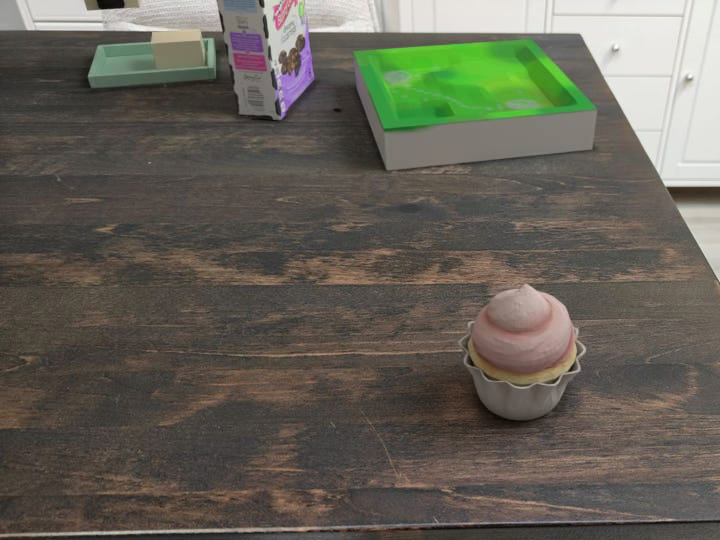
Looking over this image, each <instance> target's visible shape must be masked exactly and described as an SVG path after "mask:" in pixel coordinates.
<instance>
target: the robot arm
mask: <svg viewBox="0 0 720 540" xmlns="http://www.w3.org/2000/svg"><path fill="white" fill-rule="evenodd" d="M96 1H97V4H98V7H99V8H100V9H106V10H119V8H122V9H125V8H124V6H125V3H124V0H96Z"/></svg>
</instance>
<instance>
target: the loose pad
mask: <svg viewBox="0 0 720 540" xmlns="http://www.w3.org/2000/svg"><path fill="white" fill-rule="evenodd" d="M83 2H84V5H85V7H86V8H85V9H86V11H103V10H104V11H105V10H107V9H100V8H99V7H98V4H97V1H96V0H83ZM124 3H125V6H124V8H119V9H120V10H121V9H138V8H141V3H142V0H124ZM119 9H118V10H119Z"/></svg>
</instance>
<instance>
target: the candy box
mask: <svg viewBox="0 0 720 540" xmlns="http://www.w3.org/2000/svg"><path fill="white" fill-rule="evenodd" d="M216 5H217V10H218V15H219V21H220V26H221V32H222V36H223V41H224V46H225V53H226V57H227V63H228V67H229V72H230V78H231V83H232V88H233V93H234V98H235V103H236V109H237V113H238V115H245V116H243V117H245V118H253V119H254V118H255V119H263V120H272V121H274V120H275V121H281V120H283V119H284V118H285V117H286V115H287V114H288V112H287V111H288V110H289V109H290V108H291V107H292V105H293V104H294V103H295V102H296V101H297V100H298V98H299V97H300V96H301V95H302V94H303V93H304V92H305V90H306V89H307V88H308V87H309V86H310V85H311V84H312V82H313V81H315V79H316V78H315V70H314V69H315V68H314V62H313V55H312V48H311V39H310V32H309V31H310V30H309V23H308V17H307V8H306V1H305V0H216Z"/></svg>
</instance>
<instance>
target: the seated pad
mask: <svg viewBox="0 0 720 540" xmlns="http://www.w3.org/2000/svg"><path fill="white" fill-rule="evenodd" d="M203 39H204V38H203V35H202V30H201V28H194V29H192V28H191V29H176V30H159V31H152V32H151V38H150V42H151V43H150V44H151V48H152V52H153V56H154V60H155V63H156V67H157V70H160V69H174V68H188V67H202V66H206V53H205V48H204V43H203Z"/></svg>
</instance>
